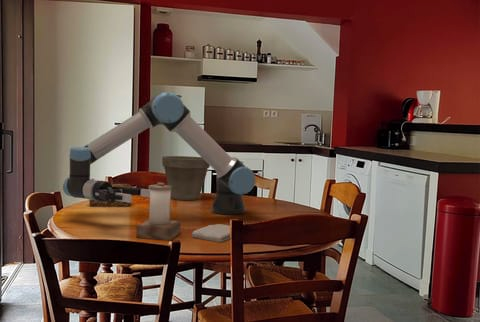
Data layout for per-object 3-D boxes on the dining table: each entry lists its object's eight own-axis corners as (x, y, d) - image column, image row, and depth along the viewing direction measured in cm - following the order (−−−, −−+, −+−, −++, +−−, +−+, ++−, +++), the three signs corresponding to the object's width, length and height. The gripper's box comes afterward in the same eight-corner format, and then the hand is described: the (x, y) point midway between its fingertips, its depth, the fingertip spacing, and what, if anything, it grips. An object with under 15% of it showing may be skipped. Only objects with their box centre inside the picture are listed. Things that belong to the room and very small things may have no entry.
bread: (131, 203, 226) (132, 182, 225) (130, 207, 216) (131, 185, 215) (91, 203, 223) (91, 182, 222) (88, 207, 212) (88, 185, 212)
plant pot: (185, 193, 265) (187, 154, 263) (218, 199, 249) (220, 158, 248) (151, 197, 245) (152, 155, 244) (184, 204, 230) (185, 159, 228)
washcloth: (245, 234, 173) (245, 226, 173) (221, 244, 157) (221, 235, 157) (217, 229, 179) (217, 221, 178) (191, 239, 163) (191, 230, 163)
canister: (172, 221, 168) (174, 182, 167) (166, 225, 160) (167, 184, 159) (152, 220, 169) (153, 181, 168) (145, 224, 161) (146, 183, 160)
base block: (180, 232, 170) (180, 220, 170) (170, 240, 158) (171, 227, 158) (148, 230, 171) (148, 218, 171) (136, 237, 160) (136, 225, 159)
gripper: (72, 183, 166) (119, 189, 156) (121, 177, 188) (164, 182, 178) (72, 204, 166) (118, 211, 156) (121, 196, 188) (164, 202, 179)
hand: (143, 196), depth 167 cm, fingers open, 13 cm apart
